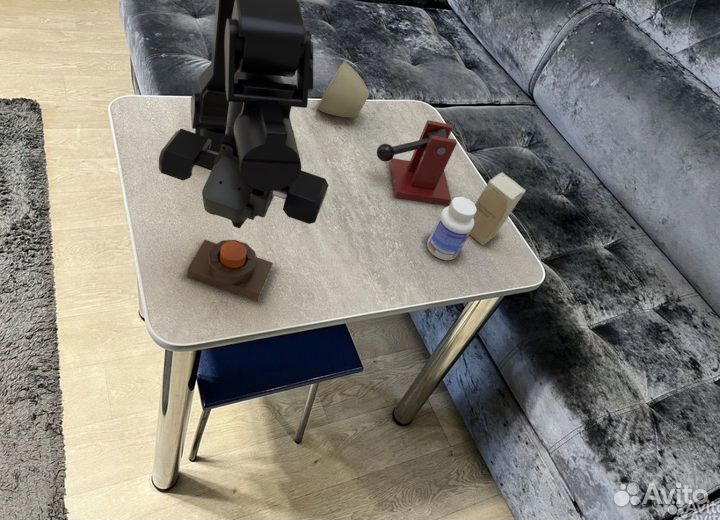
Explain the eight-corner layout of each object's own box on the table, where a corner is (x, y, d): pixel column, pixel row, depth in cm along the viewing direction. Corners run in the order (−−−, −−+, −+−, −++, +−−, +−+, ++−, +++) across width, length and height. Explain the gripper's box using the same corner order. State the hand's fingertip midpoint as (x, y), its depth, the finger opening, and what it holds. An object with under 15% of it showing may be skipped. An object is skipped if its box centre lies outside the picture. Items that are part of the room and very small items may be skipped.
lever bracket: (394, 197, 101) (417, 143, 92) (389, 163, 107) (409, 109, 98) (448, 205, 103) (475, 153, 95) (440, 172, 109) (464, 120, 101)
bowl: (343, 138, 112) (311, 118, 111) (362, 106, 117) (331, 87, 116) (364, 104, 103) (329, 82, 103) (382, 71, 109) (349, 50, 108)
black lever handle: (379, 167, 99) (375, 153, 97) (377, 155, 101) (374, 142, 99) (449, 150, 98) (447, 136, 96) (446, 139, 100) (443, 125, 98)
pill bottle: (458, 264, 94) (483, 222, 87) (427, 257, 93) (449, 214, 86) (455, 239, 98) (479, 197, 91) (425, 233, 97) (446, 190, 90)
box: (460, 227, 100) (487, 179, 92) (473, 217, 103) (501, 170, 95) (484, 246, 99) (513, 199, 91) (497, 236, 101) (527, 189, 93)
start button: (215, 263, 78) (216, 255, 76) (224, 246, 80) (226, 237, 79) (240, 272, 78) (241, 263, 76) (248, 254, 80) (250, 246, 79)
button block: (186, 278, 79) (187, 261, 76) (204, 246, 83) (205, 229, 80) (257, 302, 79) (261, 286, 77) (271, 269, 83) (275, 253, 81)
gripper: (134, 137, 57) (137, 244, 68) (318, 201, 58) (290, 296, 69) (181, 81, 65) (176, 186, 76) (342, 138, 66) (314, 233, 77)
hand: (237, 225), depth 74 cm, fingers closed
